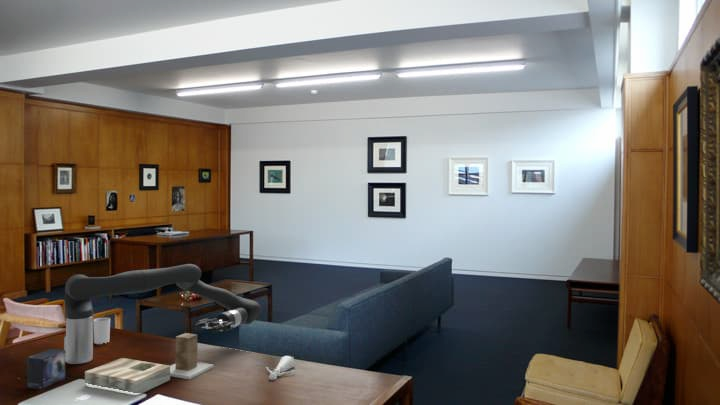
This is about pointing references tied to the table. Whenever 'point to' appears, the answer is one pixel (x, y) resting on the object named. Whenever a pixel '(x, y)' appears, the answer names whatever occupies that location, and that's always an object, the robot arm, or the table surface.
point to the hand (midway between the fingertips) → (203, 328)
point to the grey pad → (191, 373)
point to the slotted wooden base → (129, 375)
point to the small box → (46, 368)
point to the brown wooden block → (186, 351)
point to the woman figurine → (282, 367)
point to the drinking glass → (101, 330)
